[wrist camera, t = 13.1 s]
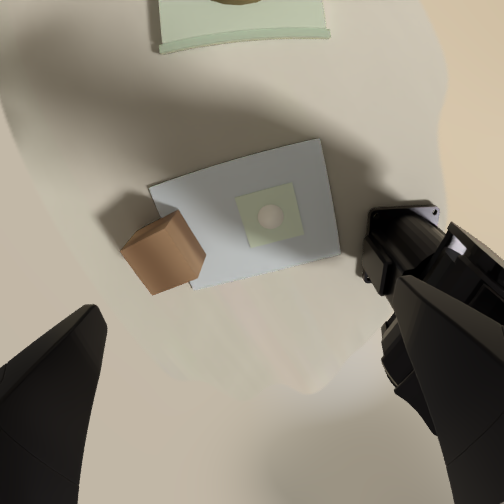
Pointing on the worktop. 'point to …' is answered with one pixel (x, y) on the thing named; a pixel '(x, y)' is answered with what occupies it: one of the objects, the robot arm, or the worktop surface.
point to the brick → (165, 253)
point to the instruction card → (256, 212)
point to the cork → (236, 2)
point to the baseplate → (238, 22)
